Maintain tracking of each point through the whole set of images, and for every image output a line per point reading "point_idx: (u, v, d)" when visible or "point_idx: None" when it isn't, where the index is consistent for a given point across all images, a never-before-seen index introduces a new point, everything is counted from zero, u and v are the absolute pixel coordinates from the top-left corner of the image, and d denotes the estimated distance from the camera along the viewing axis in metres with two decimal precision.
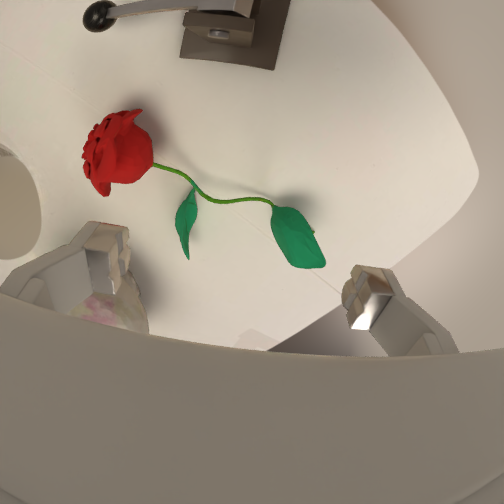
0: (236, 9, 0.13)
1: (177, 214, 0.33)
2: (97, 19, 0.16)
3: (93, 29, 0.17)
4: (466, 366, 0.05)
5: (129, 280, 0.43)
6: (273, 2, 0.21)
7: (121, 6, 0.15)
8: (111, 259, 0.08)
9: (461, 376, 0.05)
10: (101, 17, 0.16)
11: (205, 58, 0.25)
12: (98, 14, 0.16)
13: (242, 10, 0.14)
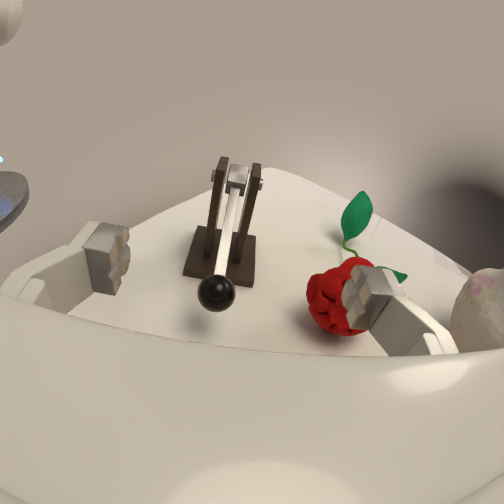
0: None
1: None
2: (225, 278, 0.27)
3: (233, 289, 0.27)
4: (466, 366, 0.05)
5: None
6: (202, 232, 0.42)
7: (219, 255, 0.28)
8: (111, 259, 0.08)
9: (460, 376, 0.05)
10: (224, 276, 0.27)
11: (253, 266, 0.39)
12: (221, 276, 0.27)
13: None
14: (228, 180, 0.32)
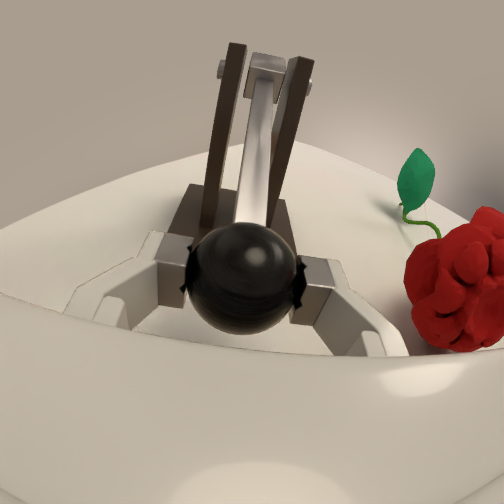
0: None
1: None
2: (271, 231, 0.09)
3: None
4: (466, 366, 0.05)
5: None
6: (197, 192, 0.25)
7: (244, 180, 0.11)
8: (186, 273, 0.08)
9: (460, 376, 0.05)
10: None
11: (292, 241, 0.21)
12: (257, 224, 0.09)
13: None
14: (252, 66, 0.14)
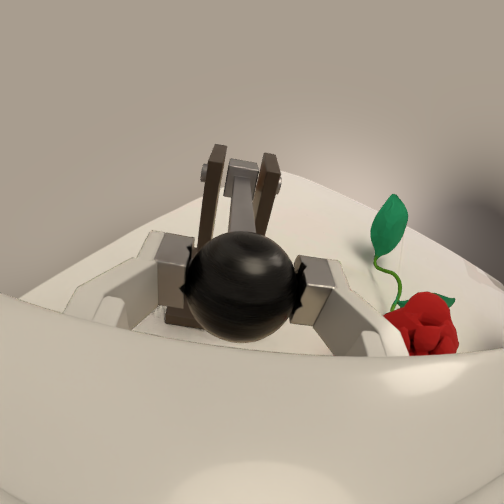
0: None
1: None
2: None
3: (291, 264, 0.09)
4: (466, 366, 0.05)
5: None
6: None
7: (234, 224, 0.12)
8: (185, 272, 0.08)
9: (460, 375, 0.05)
10: None
11: None
12: None
13: None
14: (230, 165, 0.20)
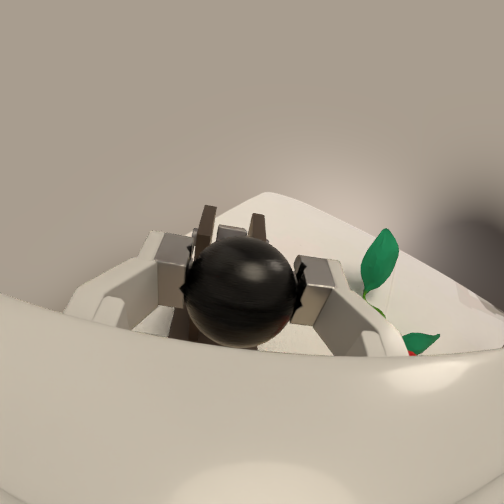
0: None
1: (410, 348, 0.29)
2: None
3: None
4: (466, 366, 0.05)
5: None
6: None
7: None
8: (185, 272, 0.08)
9: (460, 376, 0.05)
10: None
11: (256, 348, 0.28)
12: None
13: None
14: (220, 227, 0.22)
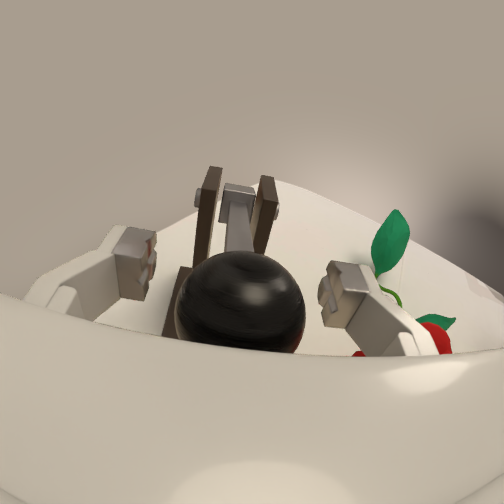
0: None
1: None
2: None
3: None
4: (466, 366, 0.05)
5: None
6: None
7: (230, 248, 0.11)
8: (142, 265, 0.08)
9: (461, 376, 0.05)
10: None
11: None
12: None
13: None
14: (226, 189, 0.19)
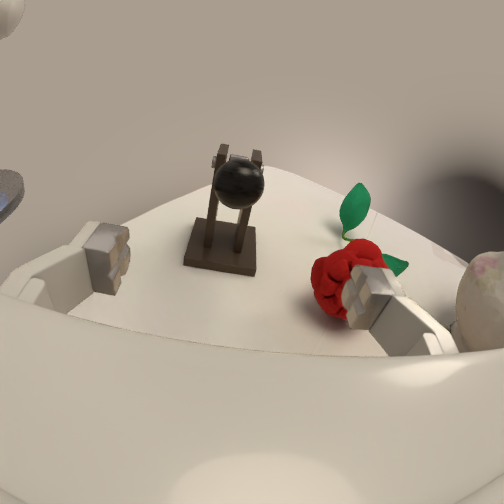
0: None
1: None
2: None
3: None
4: (466, 366, 0.05)
5: (457, 322, 0.36)
6: (201, 223, 0.42)
7: None
8: (111, 260, 0.08)
9: (460, 376, 0.05)
10: None
11: (255, 255, 0.38)
12: None
13: None
14: (231, 155, 0.31)
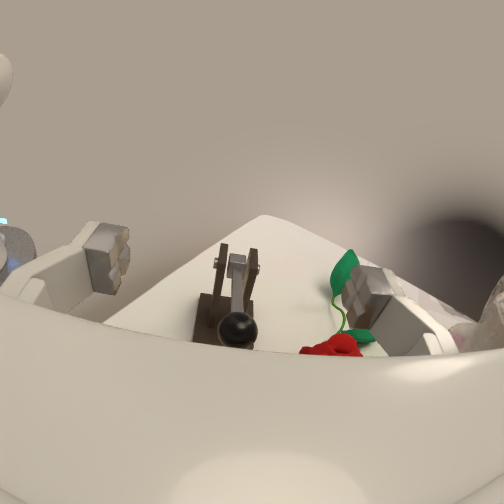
0: None
1: (362, 336, 0.44)
2: None
3: (255, 323, 0.26)
4: (466, 366, 0.05)
5: None
6: (205, 300, 0.47)
7: (234, 304, 0.29)
8: (111, 259, 0.08)
9: (461, 375, 0.05)
10: None
11: None
12: None
13: None
14: (230, 261, 0.37)
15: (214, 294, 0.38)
